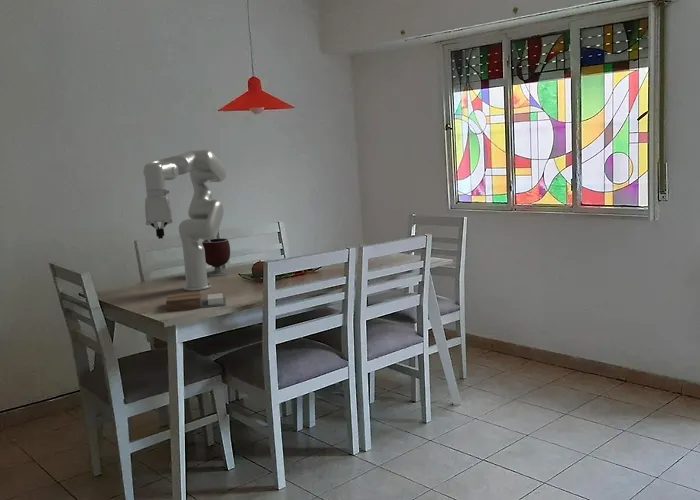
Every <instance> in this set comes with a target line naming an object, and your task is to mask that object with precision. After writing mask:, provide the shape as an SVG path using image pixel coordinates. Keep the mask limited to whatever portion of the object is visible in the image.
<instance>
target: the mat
mask: <svg viewBox="0 0 700 500" xmlns="http://www.w3.org/2000/svg"><path fill="white" fill-rule="evenodd" d="M224 305H226V306H227V303H226V297H223V304H216V305H208V298H207V299H204V298H203V299H201V308H200V309H204V308H205V309H206V308H214V307H224Z"/></svg>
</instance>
